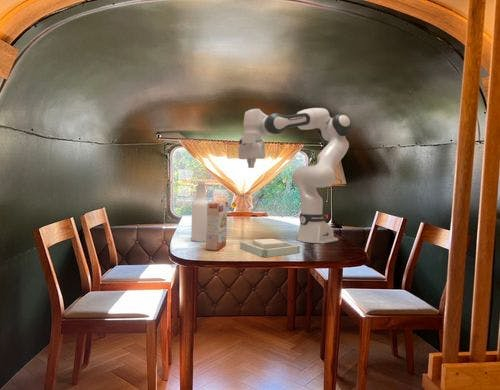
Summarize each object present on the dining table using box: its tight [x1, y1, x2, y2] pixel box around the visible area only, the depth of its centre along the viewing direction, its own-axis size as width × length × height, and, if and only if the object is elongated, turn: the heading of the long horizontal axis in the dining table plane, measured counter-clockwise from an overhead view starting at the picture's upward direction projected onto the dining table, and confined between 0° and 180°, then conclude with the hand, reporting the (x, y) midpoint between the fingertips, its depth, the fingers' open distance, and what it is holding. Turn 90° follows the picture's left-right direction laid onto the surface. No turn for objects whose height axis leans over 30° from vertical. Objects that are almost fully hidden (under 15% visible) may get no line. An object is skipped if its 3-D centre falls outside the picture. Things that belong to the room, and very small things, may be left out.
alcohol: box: [190, 180, 210, 243], centre depth 170 cm, size 9×9×30 cm
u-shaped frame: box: [239, 238, 301, 259], centre depth 152 cm, size 19×19×3 cm
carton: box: [251, 238, 284, 249], centre depth 150 cm, size 10×10×5 cm
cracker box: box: [205, 200, 229, 252], centre depth 155 cm, size 14×6×21 cm, turn 168°
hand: (251, 167), depth 175 cm, fingers closed
